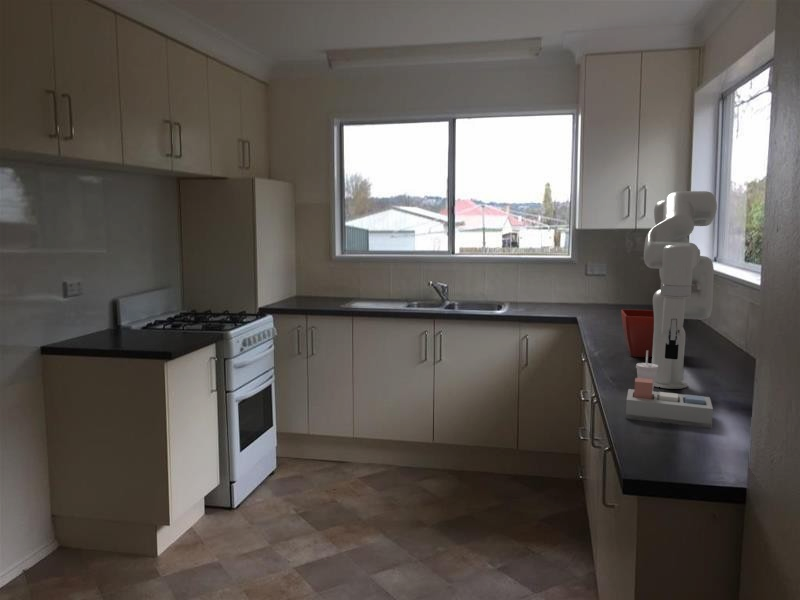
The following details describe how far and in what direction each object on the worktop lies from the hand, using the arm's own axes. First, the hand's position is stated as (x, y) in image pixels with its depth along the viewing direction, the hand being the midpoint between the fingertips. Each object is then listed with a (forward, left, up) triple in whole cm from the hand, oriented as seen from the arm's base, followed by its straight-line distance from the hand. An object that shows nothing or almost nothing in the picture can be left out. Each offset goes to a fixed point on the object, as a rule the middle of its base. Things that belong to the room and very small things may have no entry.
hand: (671, 358), depth 174 cm
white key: (+1, 0, -14) cm, 15 cm away
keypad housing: (+1, 0, -16) cm, 16 cm away
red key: (+1, -6, -11) cm, 13 cm away
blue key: (+1, +6, -14) cm, 16 cm away
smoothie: (-19, -6, -16) cm, 26 cm away
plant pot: (-85, -7, -17) cm, 87 cm away
